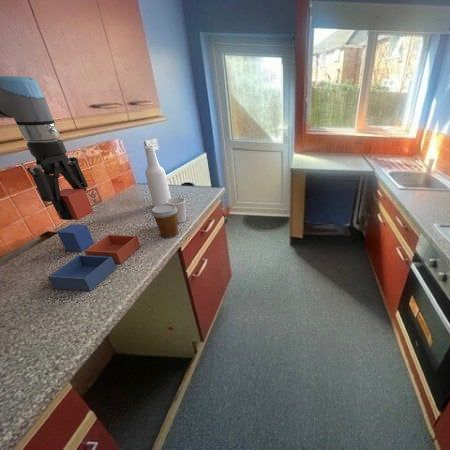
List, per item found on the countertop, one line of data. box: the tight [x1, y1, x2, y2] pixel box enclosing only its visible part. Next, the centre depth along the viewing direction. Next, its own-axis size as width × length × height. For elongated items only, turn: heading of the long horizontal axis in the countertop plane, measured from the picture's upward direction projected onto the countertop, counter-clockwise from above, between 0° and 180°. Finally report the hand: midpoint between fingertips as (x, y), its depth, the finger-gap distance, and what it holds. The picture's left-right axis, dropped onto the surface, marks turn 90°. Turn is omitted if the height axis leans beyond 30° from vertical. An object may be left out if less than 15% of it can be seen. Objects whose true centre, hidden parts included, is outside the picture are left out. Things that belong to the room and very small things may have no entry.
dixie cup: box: [165, 196, 187, 224], centre depth 114 cm, size 8×8×10 cm
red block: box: [51, 188, 94, 221], centre depth 79 cm, size 6×6×8 cm
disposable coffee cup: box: [150, 204, 179, 238], centre depth 103 cm, size 10×10×12 cm
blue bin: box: [47, 254, 117, 292], centre depth 79 cm, size 11×11×5 cm
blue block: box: [56, 223, 95, 253], centre depth 93 cm, size 6×6×8 cm
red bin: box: [84, 234, 141, 264], centre depth 91 cm, size 11×11×5 cm
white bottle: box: [144, 145, 172, 208], centre depth 124 cm, size 9×9×30 cm
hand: (76, 214), depth 80 cm, fingers closed on red block, 6 cm apart
